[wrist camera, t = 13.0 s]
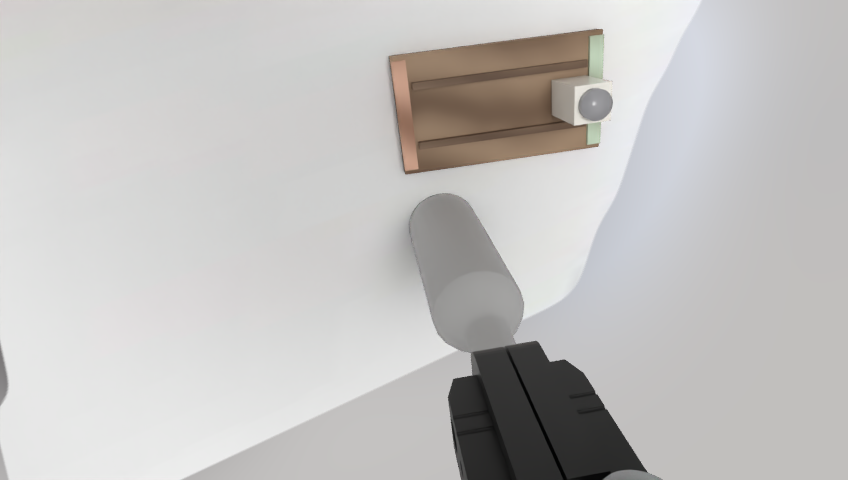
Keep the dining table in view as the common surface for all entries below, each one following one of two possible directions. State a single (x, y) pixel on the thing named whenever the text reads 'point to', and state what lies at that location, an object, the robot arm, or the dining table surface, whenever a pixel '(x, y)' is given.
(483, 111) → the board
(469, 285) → the bottle
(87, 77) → the dining table surface
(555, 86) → the slider knob
